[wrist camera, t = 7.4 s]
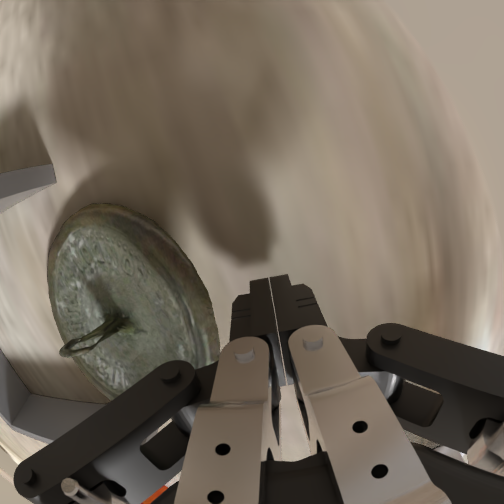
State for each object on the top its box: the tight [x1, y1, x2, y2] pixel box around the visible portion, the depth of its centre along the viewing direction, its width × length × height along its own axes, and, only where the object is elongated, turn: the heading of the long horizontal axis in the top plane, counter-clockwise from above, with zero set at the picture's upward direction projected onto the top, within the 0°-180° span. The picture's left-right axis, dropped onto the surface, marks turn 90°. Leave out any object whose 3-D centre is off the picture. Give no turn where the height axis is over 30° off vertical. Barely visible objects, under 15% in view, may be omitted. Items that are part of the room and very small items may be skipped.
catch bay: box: [0, 164, 158, 445], centre depth 11 cm, size 16×17×4 cm
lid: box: [47, 203, 220, 401], centre depth 10 cm, size 11×10×5 cm
